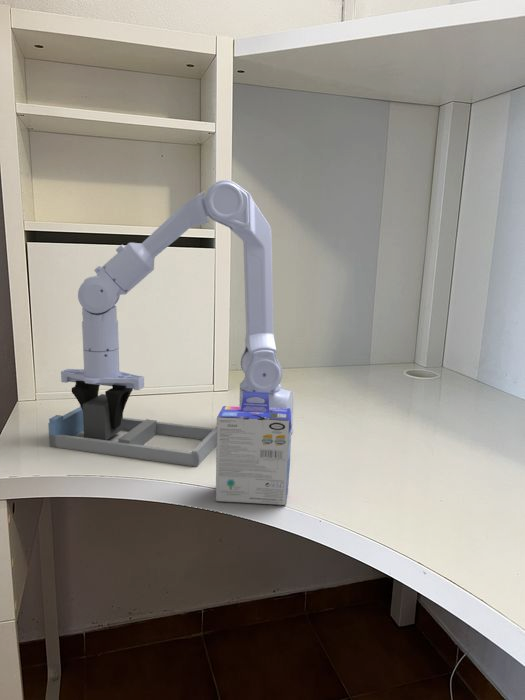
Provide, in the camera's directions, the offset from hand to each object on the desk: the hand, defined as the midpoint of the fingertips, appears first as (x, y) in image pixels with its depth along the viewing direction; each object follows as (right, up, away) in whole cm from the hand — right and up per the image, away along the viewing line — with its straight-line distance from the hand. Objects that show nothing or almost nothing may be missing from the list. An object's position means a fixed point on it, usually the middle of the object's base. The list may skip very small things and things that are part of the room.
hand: (103, 425), depth 94 cm
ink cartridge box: (+26, -7, -18) cm, 32 cm away
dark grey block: (0, -1, 0) cm, 1 cm away
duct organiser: (+6, -3, -1) cm, 7 cm away
